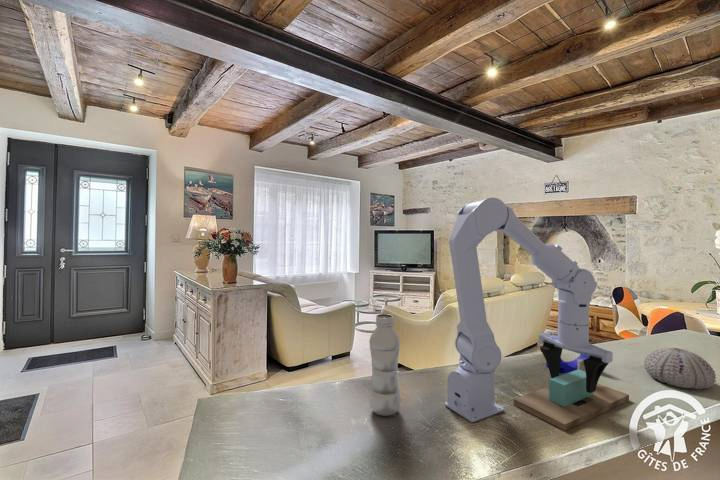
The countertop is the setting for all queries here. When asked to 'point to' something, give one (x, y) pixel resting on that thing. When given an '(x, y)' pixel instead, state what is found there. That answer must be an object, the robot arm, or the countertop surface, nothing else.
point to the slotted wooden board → (570, 405)
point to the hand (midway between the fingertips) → (572, 384)
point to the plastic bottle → (384, 367)
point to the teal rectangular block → (568, 388)
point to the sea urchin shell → (680, 368)
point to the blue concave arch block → (570, 364)
